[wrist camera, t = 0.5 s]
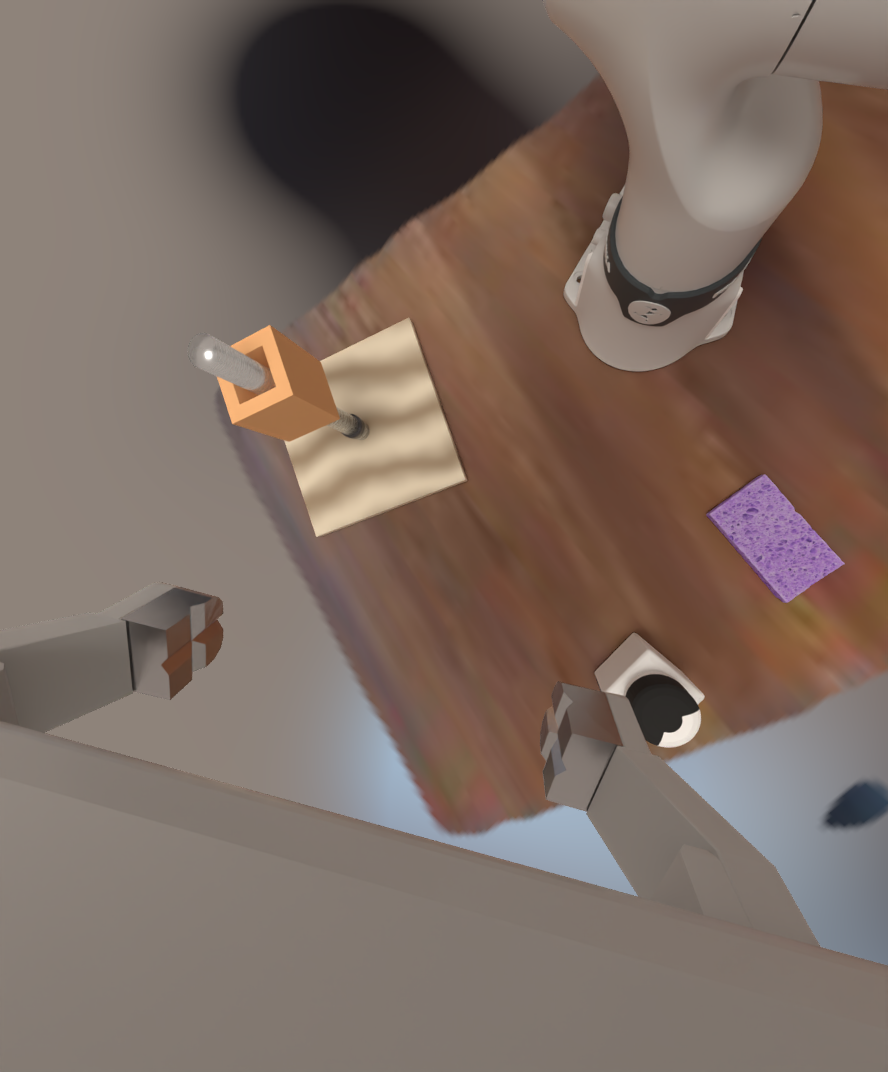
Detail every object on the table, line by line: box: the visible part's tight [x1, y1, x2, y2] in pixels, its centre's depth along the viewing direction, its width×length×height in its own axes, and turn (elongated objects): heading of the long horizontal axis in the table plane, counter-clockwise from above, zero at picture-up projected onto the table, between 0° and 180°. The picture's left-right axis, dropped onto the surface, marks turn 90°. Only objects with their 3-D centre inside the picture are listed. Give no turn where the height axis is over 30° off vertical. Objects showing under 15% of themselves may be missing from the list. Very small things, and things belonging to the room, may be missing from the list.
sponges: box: [706, 474, 845, 603], centre depth 45 cm, size 7×13×2 cm, turn 39°
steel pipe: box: [188, 333, 370, 440], centre depth 42 cm, size 3×3×26 cm
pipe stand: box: [285, 318, 467, 537], centre depth 55 cm, size 22×22×2 cm
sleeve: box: [217, 325, 340, 442], centre depth 37 cm, size 6×6×8 cm
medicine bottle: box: [594, 633, 704, 747], centre depth 44 cm, size 7×7×12 cm
